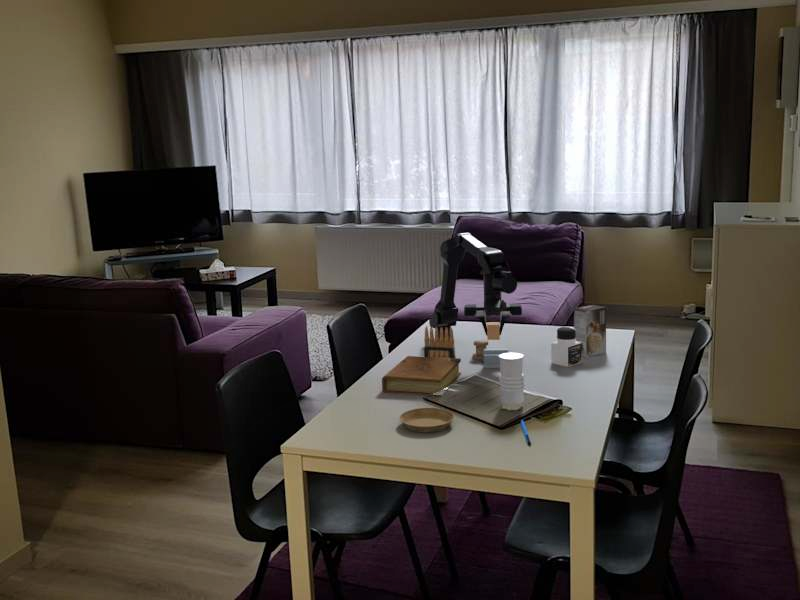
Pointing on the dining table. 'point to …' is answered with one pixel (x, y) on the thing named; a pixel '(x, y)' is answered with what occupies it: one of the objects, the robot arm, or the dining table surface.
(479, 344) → the wooden knob
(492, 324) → the block
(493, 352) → the notched board
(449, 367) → the diary
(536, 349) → the dining table surface
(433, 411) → the plant saucer
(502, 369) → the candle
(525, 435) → the pen
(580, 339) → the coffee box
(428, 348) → the ammunition clip
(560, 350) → the medicine bottle
